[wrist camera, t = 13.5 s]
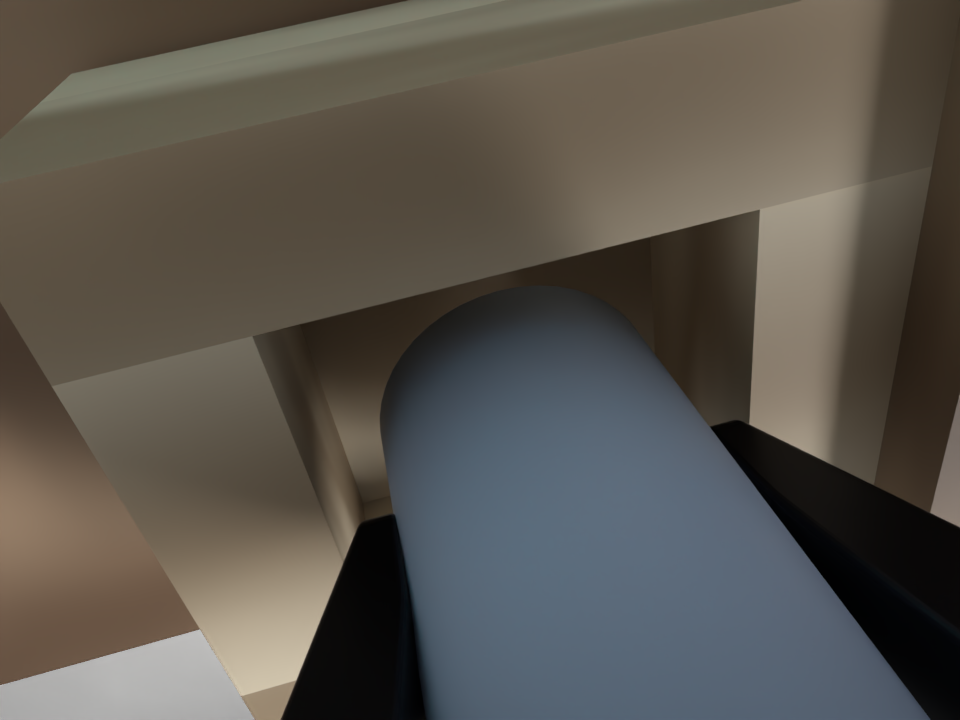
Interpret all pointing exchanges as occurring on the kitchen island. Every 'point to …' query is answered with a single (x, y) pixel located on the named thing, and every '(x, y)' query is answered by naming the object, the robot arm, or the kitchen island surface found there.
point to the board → (91, 497)
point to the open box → (454, 248)
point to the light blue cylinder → (598, 537)
